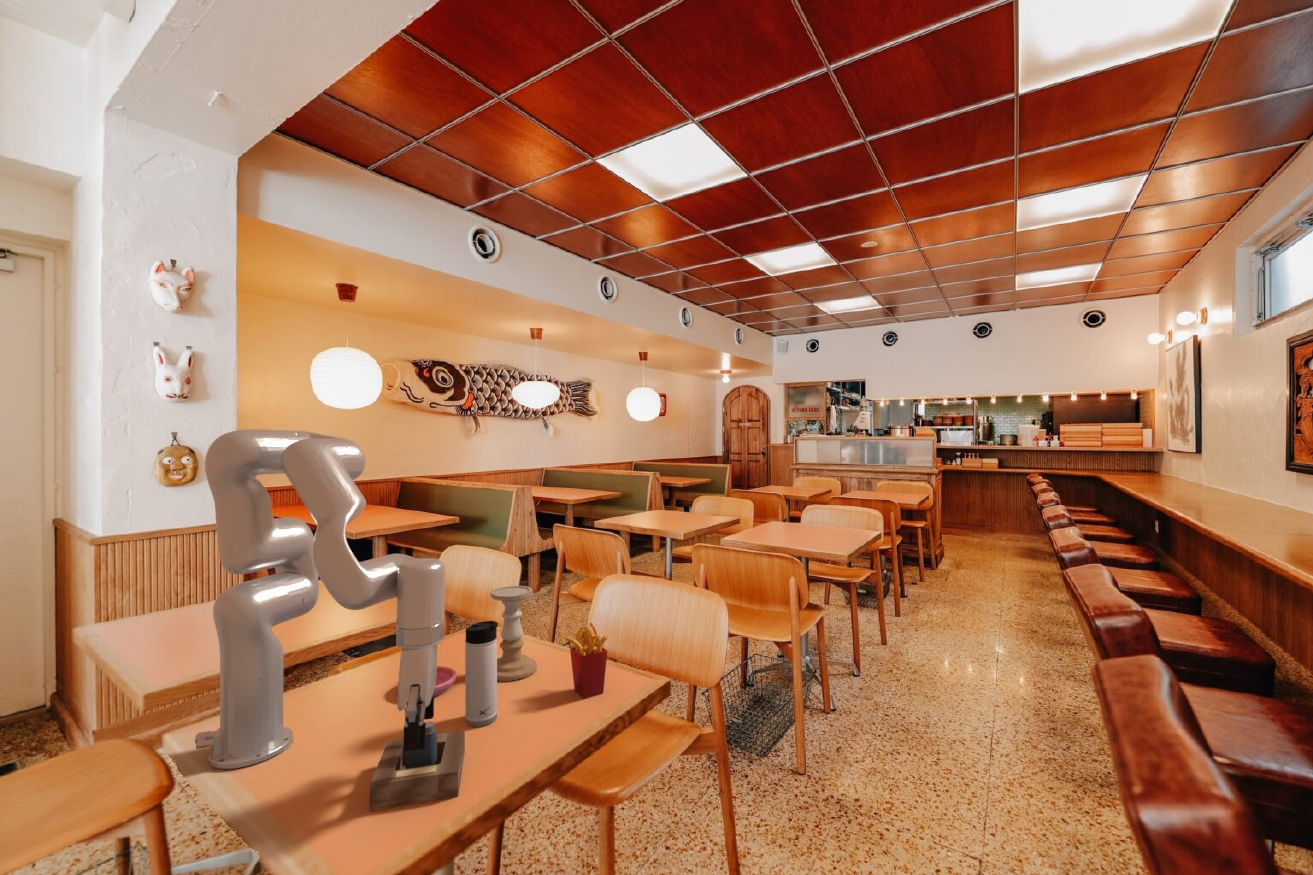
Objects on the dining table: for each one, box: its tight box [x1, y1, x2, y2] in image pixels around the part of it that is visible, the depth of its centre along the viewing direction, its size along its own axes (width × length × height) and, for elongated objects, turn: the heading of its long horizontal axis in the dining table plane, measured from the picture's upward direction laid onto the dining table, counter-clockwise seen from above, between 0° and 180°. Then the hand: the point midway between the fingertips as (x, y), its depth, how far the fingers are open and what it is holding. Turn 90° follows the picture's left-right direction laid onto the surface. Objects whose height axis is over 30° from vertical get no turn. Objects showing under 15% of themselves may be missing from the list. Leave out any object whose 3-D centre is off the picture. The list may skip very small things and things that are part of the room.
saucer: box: [397, 665, 457, 698], centre depth 125 cm, size 12×12×3 cm
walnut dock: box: [368, 729, 466, 812], centre depth 92 cm, size 13×13×4 cm
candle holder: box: [489, 585, 538, 682], centre depth 135 cm, size 12×12×20 cm
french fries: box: [565, 622, 609, 700], centre depth 124 cm, size 9×8×15 cm
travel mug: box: [464, 620, 499, 728], centre depth 111 cm, size 6×7×20 cm
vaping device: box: [404, 707, 438, 769], centre depth 92 cm, size 3×5×12 cm, turn 93°
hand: (419, 733), depth 92 cm, fingers open, 9 cm apart
